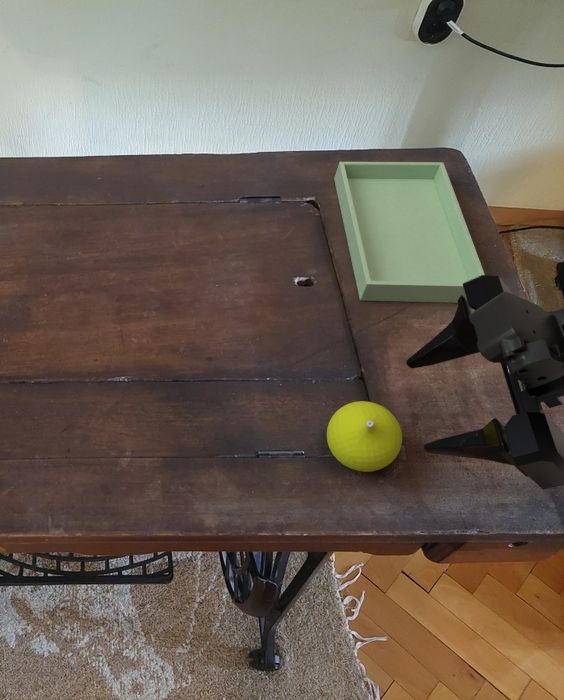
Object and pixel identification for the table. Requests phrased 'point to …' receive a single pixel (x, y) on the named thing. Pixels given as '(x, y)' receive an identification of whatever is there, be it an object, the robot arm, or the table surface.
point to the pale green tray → (405, 231)
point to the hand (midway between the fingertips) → (416, 405)
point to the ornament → (364, 436)
